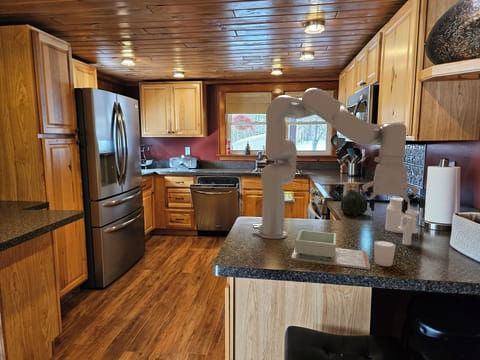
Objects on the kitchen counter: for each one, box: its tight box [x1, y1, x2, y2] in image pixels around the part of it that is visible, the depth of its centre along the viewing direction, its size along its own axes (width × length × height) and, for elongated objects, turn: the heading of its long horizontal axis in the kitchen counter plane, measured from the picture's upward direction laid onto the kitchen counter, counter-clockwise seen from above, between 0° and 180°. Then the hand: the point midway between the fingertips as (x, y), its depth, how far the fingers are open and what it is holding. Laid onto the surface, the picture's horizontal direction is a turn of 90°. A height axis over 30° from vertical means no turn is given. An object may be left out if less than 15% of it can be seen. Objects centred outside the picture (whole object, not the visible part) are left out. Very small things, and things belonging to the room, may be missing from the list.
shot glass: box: [373, 240, 396, 267], centre depth 109 cm, size 7×7×7 cm
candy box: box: [342, 181, 360, 198], centre depth 204 cm, size 9×4×15 cm, turn 103°
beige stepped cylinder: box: [398, 209, 420, 246], centre depth 129 cm, size 7×7×15 cm
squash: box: [340, 190, 369, 217], centre depth 181 cm, size 14×15×15 cm
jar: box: [384, 197, 413, 234], centre depth 150 cm, size 12×10×15 cm
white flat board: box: [290, 247, 371, 271], centre depth 115 cm, size 26×16×1 cm, turn 73°
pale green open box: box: [294, 229, 337, 259], centre depth 116 cm, size 14×14×6 cm
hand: (387, 211), depth 107 cm, fingers open, 9 cm apart
